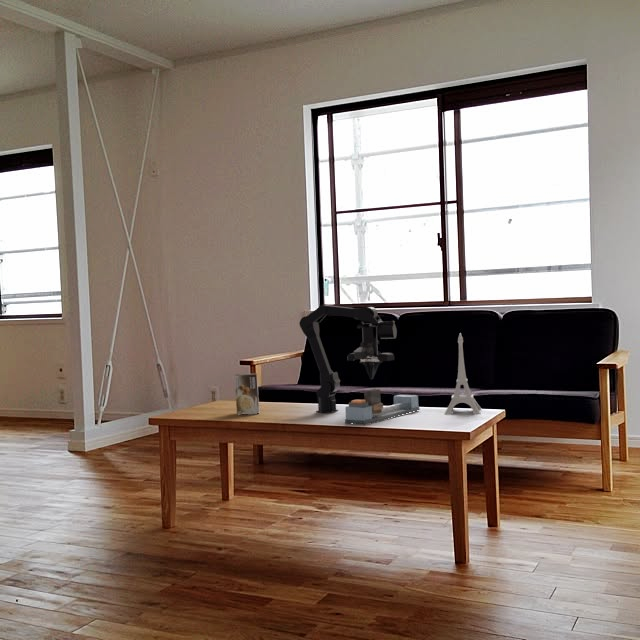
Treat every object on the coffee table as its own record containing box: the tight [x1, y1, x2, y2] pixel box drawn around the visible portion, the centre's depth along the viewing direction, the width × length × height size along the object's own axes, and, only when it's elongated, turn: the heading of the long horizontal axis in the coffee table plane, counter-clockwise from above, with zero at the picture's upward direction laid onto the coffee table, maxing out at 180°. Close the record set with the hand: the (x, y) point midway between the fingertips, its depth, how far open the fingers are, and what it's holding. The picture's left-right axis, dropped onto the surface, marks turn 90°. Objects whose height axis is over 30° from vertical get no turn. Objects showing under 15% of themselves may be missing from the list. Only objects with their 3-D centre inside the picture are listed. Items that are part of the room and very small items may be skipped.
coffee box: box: [234, 373, 260, 415], centre depth 319 cm, size 9×6×16 cm
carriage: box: [363, 388, 384, 415], centre depth 288 cm, size 5×6×8 cm
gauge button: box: [350, 398, 365, 403], centre depth 281 cm, size 4×4×2 cm
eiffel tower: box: [443, 332, 483, 415], centre depth 299 cm, size 13×13×30 cm
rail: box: [344, 394, 421, 426], centre depth 294 cm, size 9×37×8 cm, turn 142°
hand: (371, 379), depth 308 cm, fingers closed
